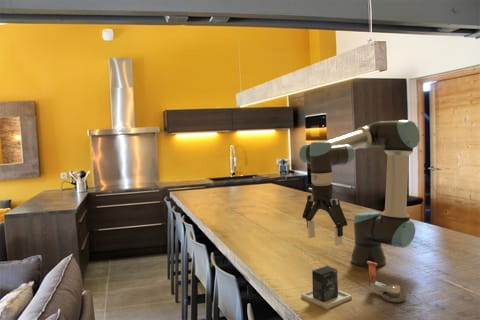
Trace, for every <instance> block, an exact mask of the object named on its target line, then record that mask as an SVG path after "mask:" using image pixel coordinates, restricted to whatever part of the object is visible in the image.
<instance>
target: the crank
mask: <svg viewBox="0 0 480 320" xmlns="http://www.w3.org/2000/svg"><path fill="white" fill-rule="evenodd" d="M367 264H369V267H368V283H369V285H368V286H369V287H371V288H374V289H376V290H380V291H382V292H387V295H388V296H390V297H399V296H400V293H401V286H400V285H398V284H394V283H393V284H392V283H391V284H385V283H382V282H379V281H377V279H376V277H377V275H376V267H375V266H377V263H374V262H370V261H367Z"/></svg>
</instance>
